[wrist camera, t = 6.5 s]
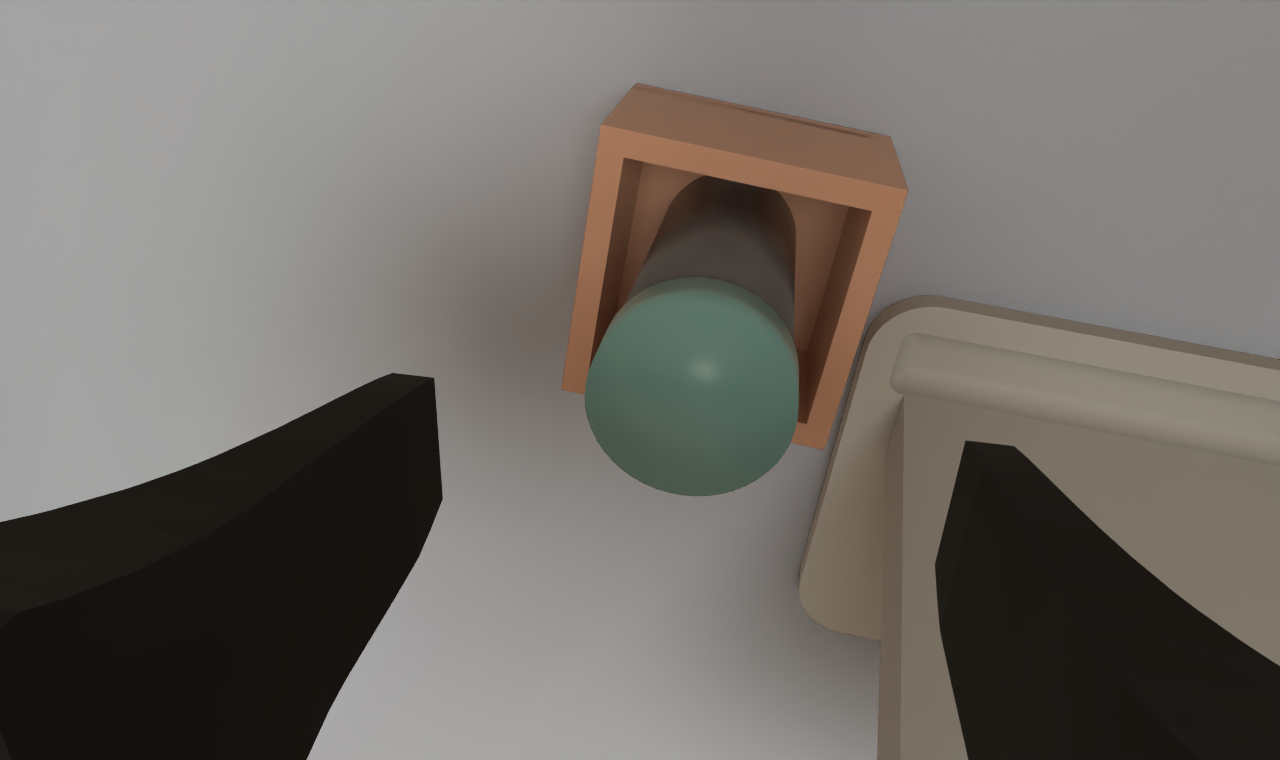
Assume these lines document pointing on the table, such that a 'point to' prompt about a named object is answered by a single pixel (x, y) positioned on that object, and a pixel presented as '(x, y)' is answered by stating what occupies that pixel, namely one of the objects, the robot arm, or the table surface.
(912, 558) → the phone holder
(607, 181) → the pen cup
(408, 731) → the table surface
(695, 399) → the marker
